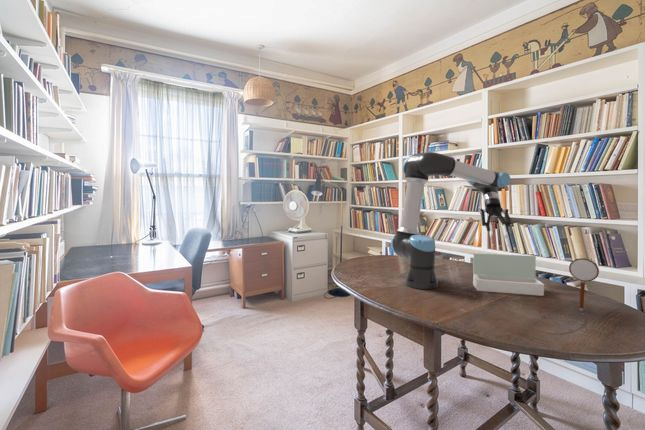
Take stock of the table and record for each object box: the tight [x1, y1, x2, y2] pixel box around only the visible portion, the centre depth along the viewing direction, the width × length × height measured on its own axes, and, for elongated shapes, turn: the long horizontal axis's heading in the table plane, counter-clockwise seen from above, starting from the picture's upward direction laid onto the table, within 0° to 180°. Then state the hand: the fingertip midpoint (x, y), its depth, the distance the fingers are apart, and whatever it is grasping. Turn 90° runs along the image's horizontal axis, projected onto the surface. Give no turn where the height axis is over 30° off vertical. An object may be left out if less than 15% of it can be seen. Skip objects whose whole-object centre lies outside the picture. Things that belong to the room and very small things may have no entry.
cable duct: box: [472, 273, 545, 297], centre depth 142 cm, size 26×10×5 cm, turn 74°
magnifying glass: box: [568, 257, 600, 311], centre depth 116 cm, size 9×2×20 cm, turn 39°
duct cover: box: [472, 252, 537, 278], centre depth 147 cm, size 26×10×1 cm
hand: (498, 236), depth 156 cm, fingers open, 6 cm apart
